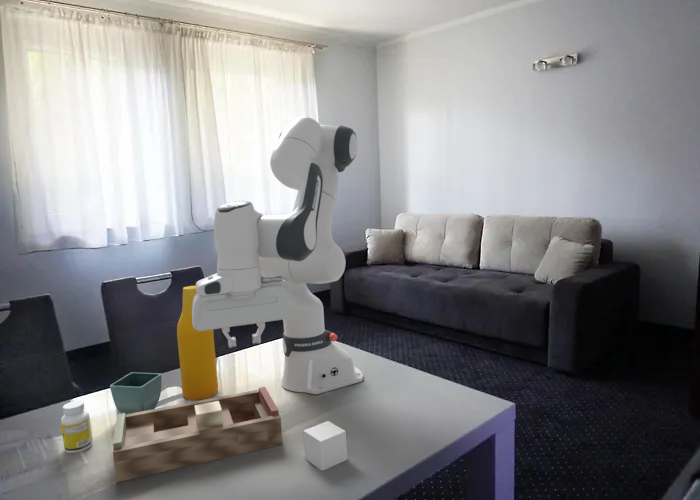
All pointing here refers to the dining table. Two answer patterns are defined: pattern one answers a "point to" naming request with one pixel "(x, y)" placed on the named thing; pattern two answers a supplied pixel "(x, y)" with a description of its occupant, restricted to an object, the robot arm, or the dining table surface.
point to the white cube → (325, 445)
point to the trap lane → (193, 434)
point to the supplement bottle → (76, 427)
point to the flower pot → (137, 392)
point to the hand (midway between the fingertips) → (244, 344)
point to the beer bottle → (195, 354)
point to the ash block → (208, 415)
